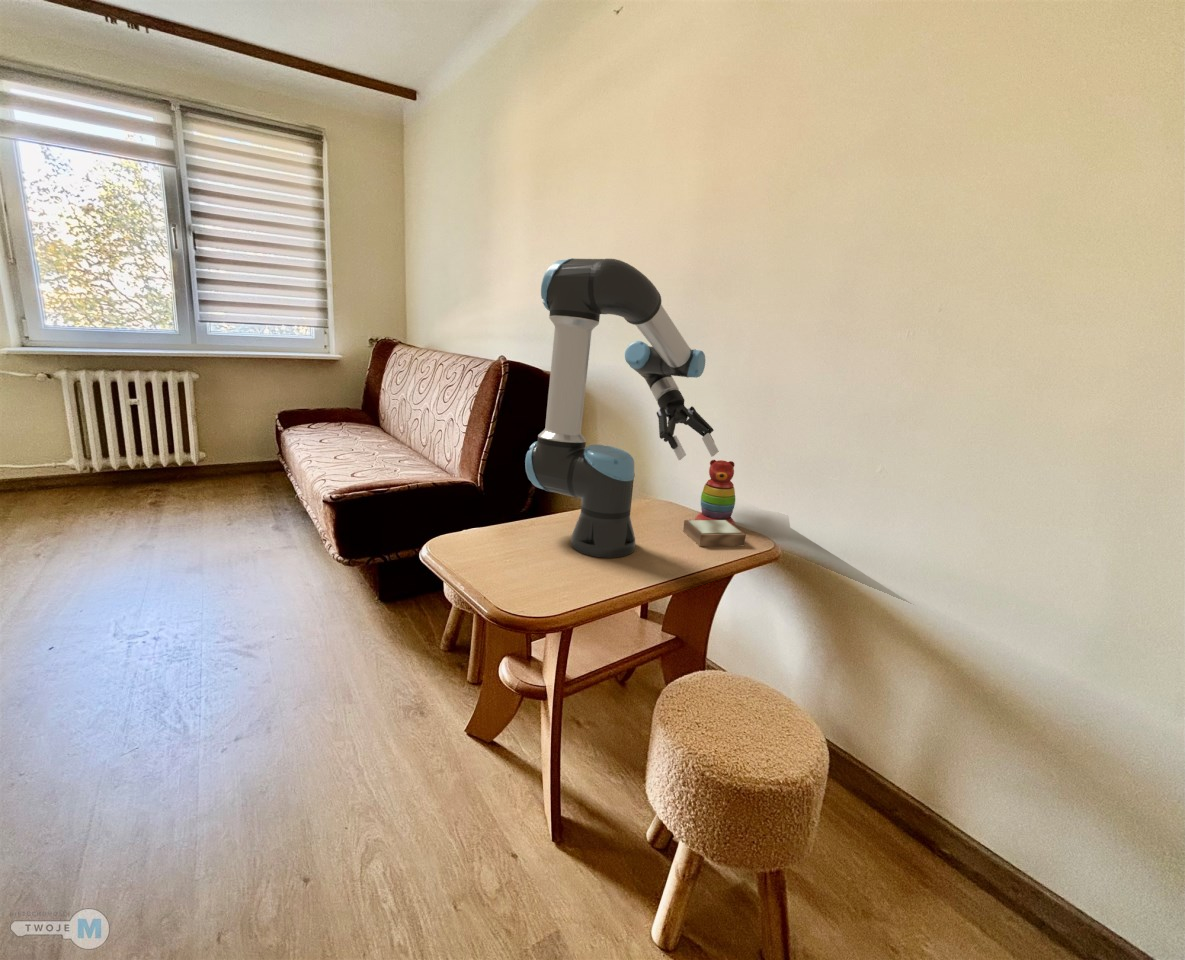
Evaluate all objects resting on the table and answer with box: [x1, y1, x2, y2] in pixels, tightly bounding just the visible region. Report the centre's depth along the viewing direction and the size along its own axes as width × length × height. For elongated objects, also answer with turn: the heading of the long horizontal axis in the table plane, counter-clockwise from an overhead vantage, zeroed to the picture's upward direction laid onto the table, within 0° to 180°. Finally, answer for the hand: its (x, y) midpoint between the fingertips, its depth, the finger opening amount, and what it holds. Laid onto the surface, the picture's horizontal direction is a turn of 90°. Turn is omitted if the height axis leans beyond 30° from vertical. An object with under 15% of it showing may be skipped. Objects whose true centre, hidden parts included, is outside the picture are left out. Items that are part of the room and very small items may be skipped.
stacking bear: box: [694, 459, 736, 527], centre depth 151 cm, size 11×10×18 cm
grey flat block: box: [682, 519, 746, 548], centre depth 140 cm, size 12×11×3 cm
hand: (699, 455), depth 156 cm, fingers open, 13 cm apart
